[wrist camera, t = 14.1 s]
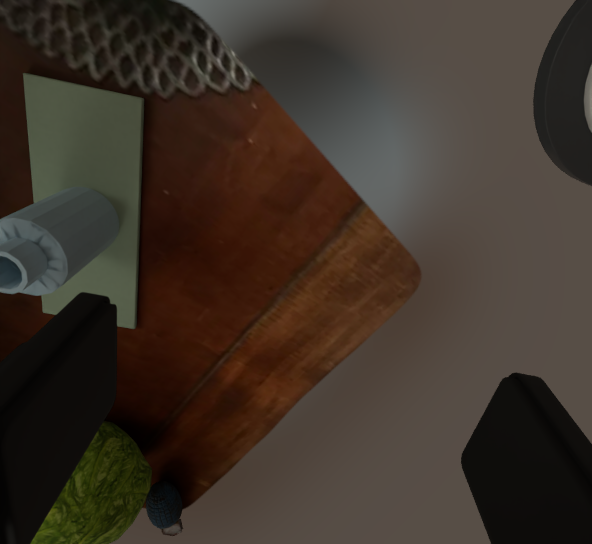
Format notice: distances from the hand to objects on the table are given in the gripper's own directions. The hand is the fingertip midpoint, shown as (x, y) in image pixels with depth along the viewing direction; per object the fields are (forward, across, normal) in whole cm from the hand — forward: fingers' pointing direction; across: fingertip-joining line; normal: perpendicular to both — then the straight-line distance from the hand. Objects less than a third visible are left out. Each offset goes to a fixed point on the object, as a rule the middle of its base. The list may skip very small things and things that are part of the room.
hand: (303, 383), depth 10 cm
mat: (+30, +20, +10) cm, 38 cm away
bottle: (+30, +20, +10) cm, 37 cm away
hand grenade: (+28, +11, +45) cm, 54 cm away
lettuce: (+24, +20, +49) cm, 58 cm away
